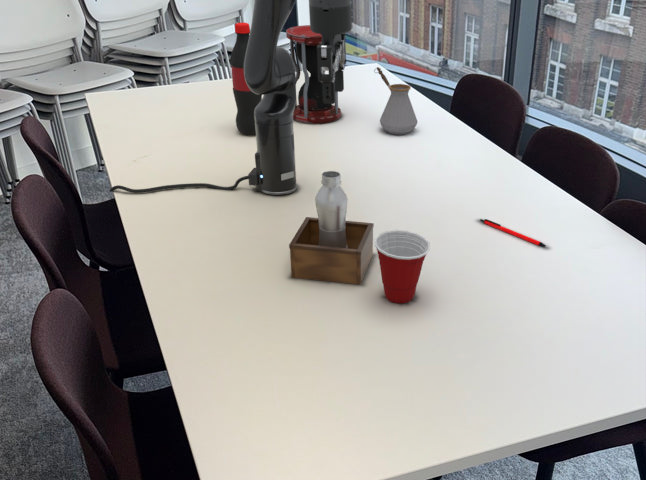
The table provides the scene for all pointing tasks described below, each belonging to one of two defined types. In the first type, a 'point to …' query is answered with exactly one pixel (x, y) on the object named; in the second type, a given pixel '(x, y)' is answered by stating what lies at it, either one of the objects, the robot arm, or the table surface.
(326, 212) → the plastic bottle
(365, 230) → the wooden box
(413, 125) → the coffee pot
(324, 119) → the hourglass
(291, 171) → the robot arm
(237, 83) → the cola bottle
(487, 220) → the pen
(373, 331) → the table surface
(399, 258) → the plastic cup
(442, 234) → the table surface
